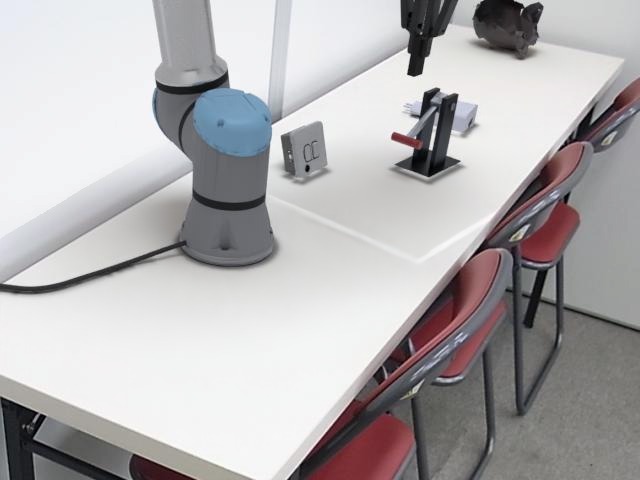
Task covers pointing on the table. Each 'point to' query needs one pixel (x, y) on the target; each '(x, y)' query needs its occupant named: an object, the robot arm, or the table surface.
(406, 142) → the lever
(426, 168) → the bracket
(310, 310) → the table surface
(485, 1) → the dark grey rounded piece
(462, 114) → the charger
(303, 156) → the electrical switch
